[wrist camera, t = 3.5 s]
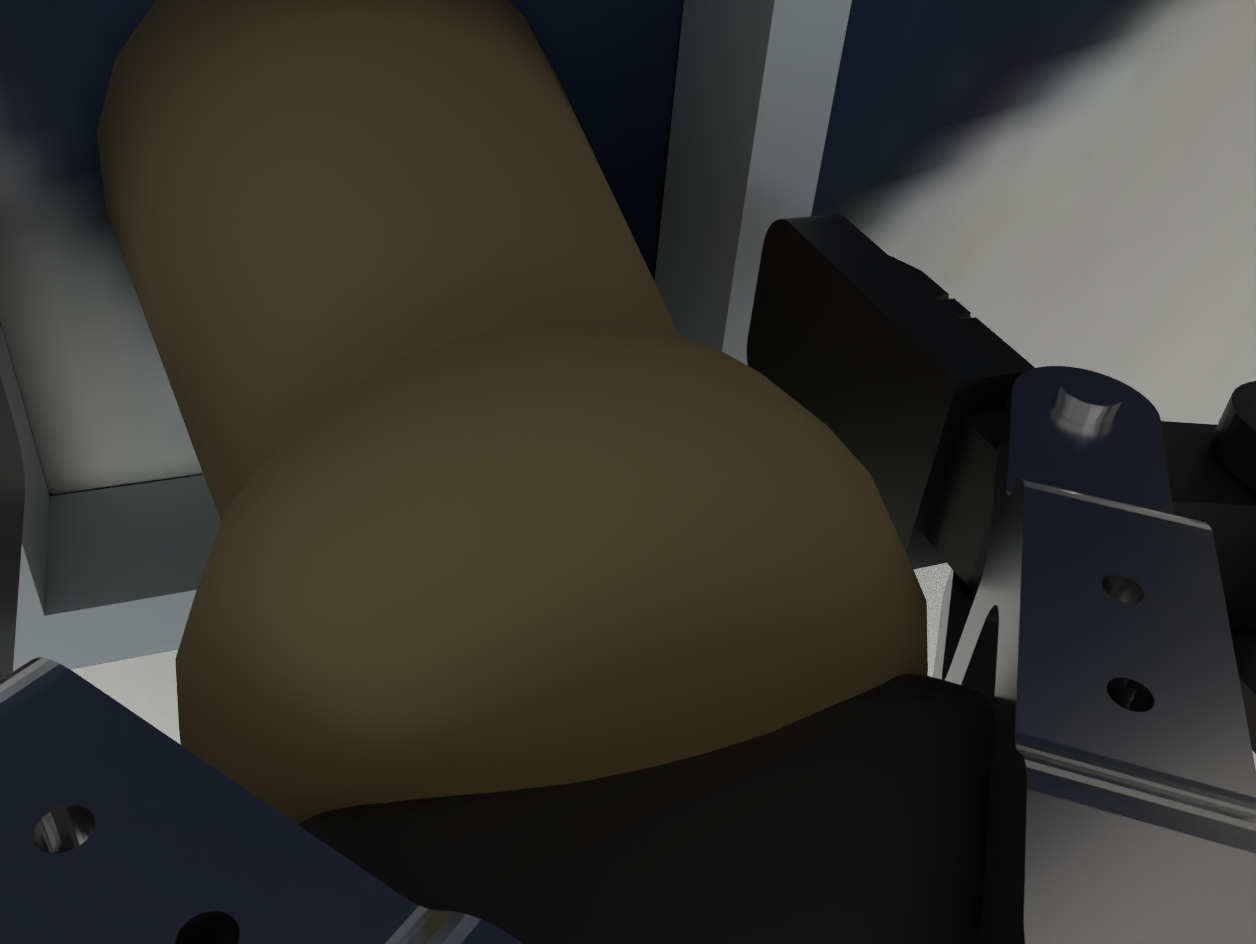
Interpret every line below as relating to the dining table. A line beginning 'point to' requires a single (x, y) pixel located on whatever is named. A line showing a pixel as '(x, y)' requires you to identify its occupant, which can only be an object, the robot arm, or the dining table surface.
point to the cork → (461, 426)
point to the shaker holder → (685, 276)
